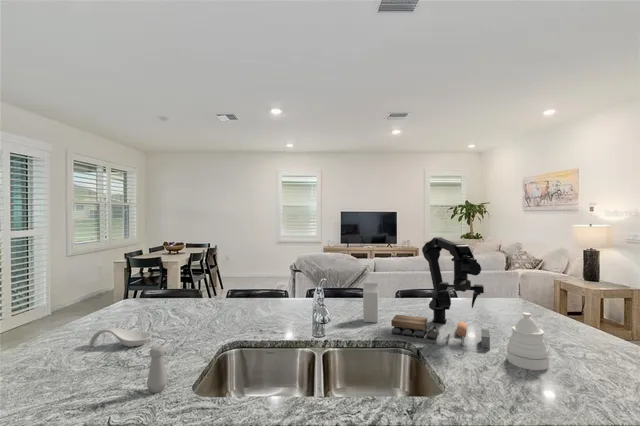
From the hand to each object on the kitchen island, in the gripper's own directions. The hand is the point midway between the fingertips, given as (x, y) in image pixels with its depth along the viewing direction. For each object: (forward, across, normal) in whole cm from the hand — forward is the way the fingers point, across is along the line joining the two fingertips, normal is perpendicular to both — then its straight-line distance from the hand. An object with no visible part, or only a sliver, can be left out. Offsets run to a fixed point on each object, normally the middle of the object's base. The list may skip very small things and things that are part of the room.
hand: (461, 306), depth 156 cm
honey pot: (+12, +23, -24) cm, 35 cm away
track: (+12, -13, -12) cm, 21 cm away
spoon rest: (+12, -128, -73) cm, 148 cm away
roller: (+12, 0, 0) cm, 12 cm away
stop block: (+12, +10, -12) cm, 19 cm away
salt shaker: (+12, -82, -94) cm, 125 cm away
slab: (+7, -21, -12) cm, 25 cm away
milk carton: (+12, -43, +2) cm, 45 cm away
